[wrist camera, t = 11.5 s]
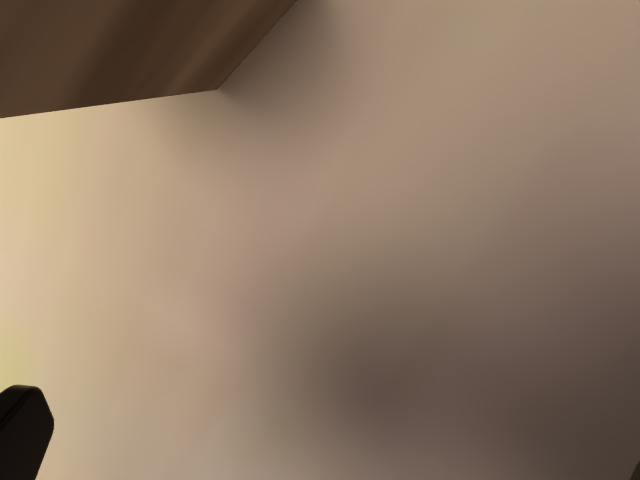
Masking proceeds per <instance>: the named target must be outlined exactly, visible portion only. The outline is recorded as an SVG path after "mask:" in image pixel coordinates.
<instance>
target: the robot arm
mask: <svg viewBox="0 0 640 480" xmlns="http://www.w3.org/2000/svg"><path fill="white" fill-rule="evenodd" d="M53 430H54V419H53V416H52V413H51V411H50V409H49V406H48V404H47V402H46V399H45V397H44V395H43V392H42V391H41V389H39V388H38V387H35V386H26V385H13V386H10V387H8V388H7V389H5V390H4V391H2V392H1V393H0V480H35V479H36V476H37V474H38V471H39V468H40V466H41V463H42V461H43V458H44V455H45V453H46V450H47V447H48V445H49V442H50V439H51V437H52V434H53ZM629 480H640V461H639V462H638V464H637V465H636V467H635V469H634V471H633V473H632V475H631V477H630V479H629Z"/></svg>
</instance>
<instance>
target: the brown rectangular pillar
mask: <svg viewBox="0 0 640 480" xmlns="http://www.w3.org/2000/svg"><path fill="white" fill-rule="evenodd" d="M295 1H296V0H0V118H6V117H14V116H21V115H29V114H36V113H44V112H51V111H59V110H66V109H74V108H81V107H89V106H97V105H104V104H112V103H119V102H127V101H134V100H142V99H149V98H157V97H165V96H172V95H180V94H187V93H195V92H202V91H210V90H216V89H217V88H218V87H219V86H220V85H221V84H222V83H223V81H224V80H225V79H226V78H227V77H228V76H229V75H230V74H231V73H232V71H233V70H234V69H235V68H236V67H237V66H238V65H239V64H240V63H241V61H242V60H243V59H244V58H245V57H246V56H247V55H248V54H249V53H250V51H251V50H252V49H253V48H254V47H255V46H256V45H257V44H258V43H259V41H260V40H261V39H262V38H263V37H264V36H265V35H266V34H267V33H268V31H269V30H270V29H271V28H272V27H273V26H274V25H275V24H276V23H277V21H278V20H279V19H280V18H281V17H282V16H283V15H284V14H285V13H286V11H287V10H288V9H289V8H290V7H291V6H292V5H293V4H294V3H295Z"/></svg>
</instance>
